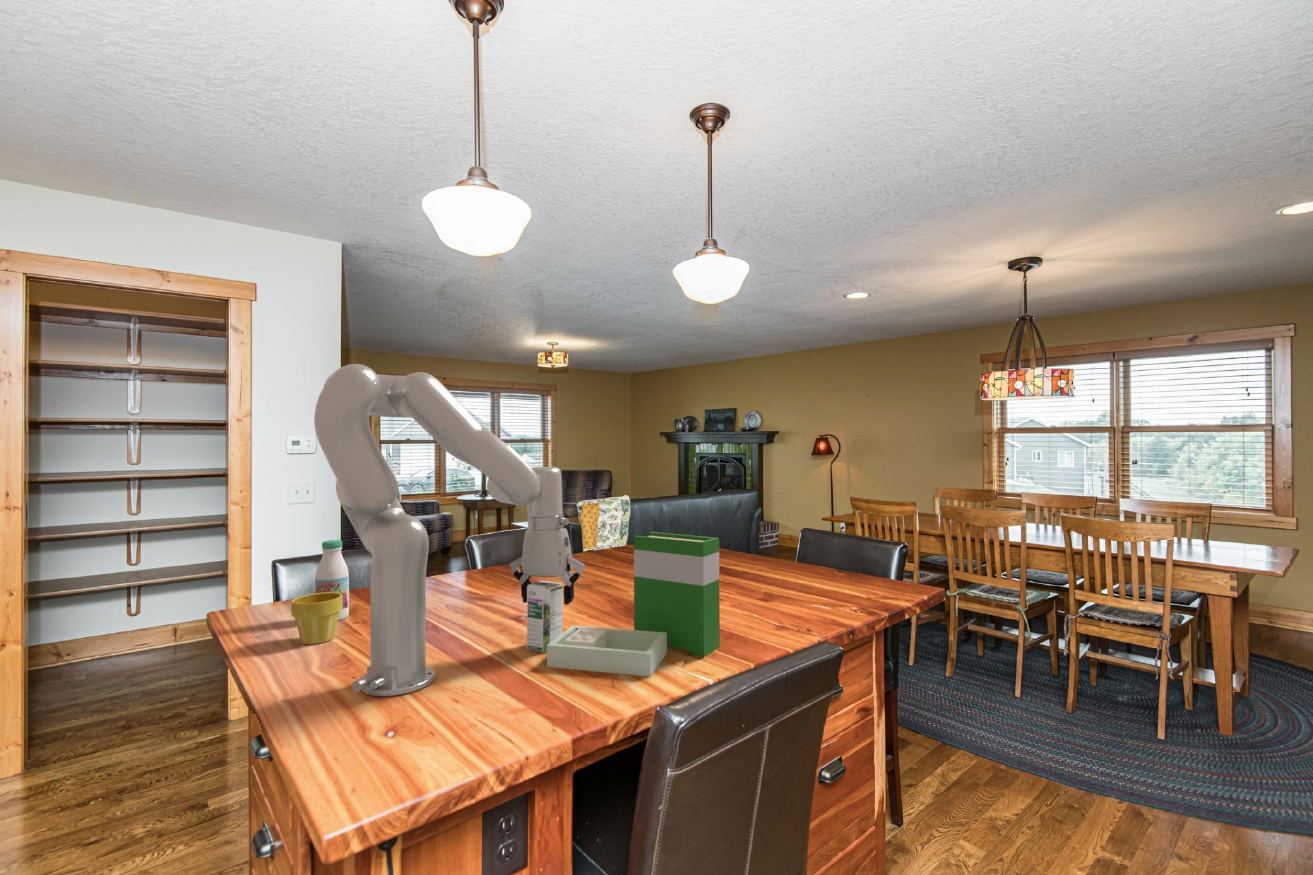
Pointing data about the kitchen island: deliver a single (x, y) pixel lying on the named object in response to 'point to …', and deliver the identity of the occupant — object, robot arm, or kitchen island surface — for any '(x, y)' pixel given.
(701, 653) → the hardback book
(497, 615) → the kitchen island surface
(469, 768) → the kitchen island surface
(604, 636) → the white toy brick
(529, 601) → the syrup box
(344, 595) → the milk bottle
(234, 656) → the kitchen island surface
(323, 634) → the plant pot
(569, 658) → the tote
